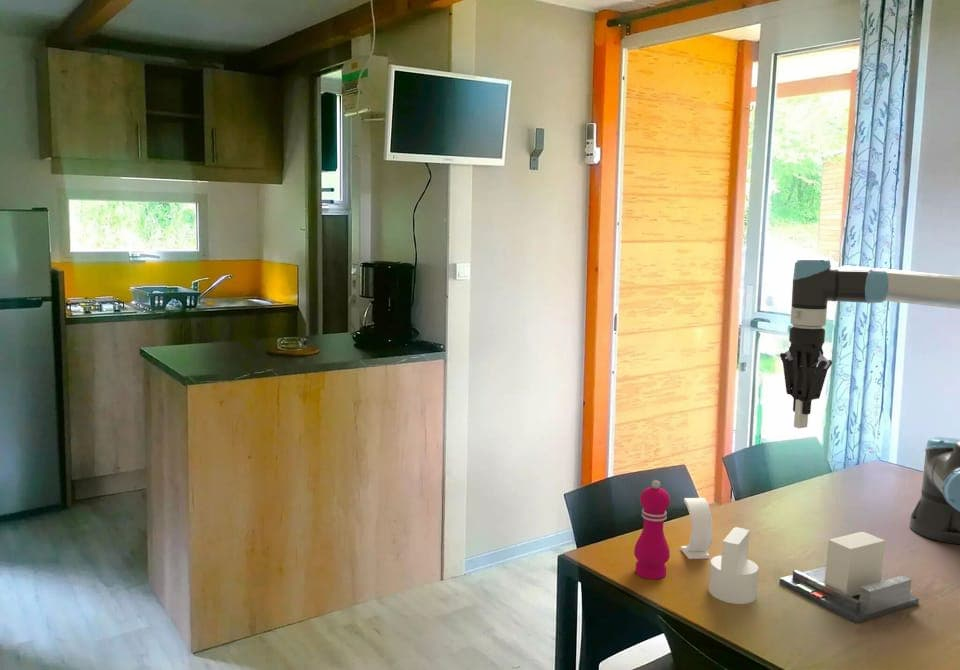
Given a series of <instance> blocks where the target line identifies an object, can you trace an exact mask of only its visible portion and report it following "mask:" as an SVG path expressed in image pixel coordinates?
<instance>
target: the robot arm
mask: <svg viewBox="0 0 960 670" xmlns="http://www.w3.org/2000/svg"><path fill="white" fill-rule="evenodd" d="M828 302H846V303H866V304H873V303H875V304H878V303H883V302H892V303H900V304H901V303H902V304H911V305H920V306H921V305H922V306H930V307H939V308H949V309H955V310H956V309H957V310H960V275H954V274H946V273H945V274H943V273H934V272H933V273H931V272H922V271H921V272H920V271H912V270H902V269H901V270H900V269H891V268H882V267H881V268H879V267H869V266H860V265H859V266H858V265H854V264H845V265H841V266H839V267H838V268H837V267H832V265H831V261H830V260H829V259H827V258H813V257H812V258H809V257H808V258H803V257H802V258H798V259H797V260H796V261H795V263H794V269H793V277H792V290H791V310H790V324H791V326H790V327H789V333H788V335H789V336H788V341H789V343H790V346H789V347H788V350H787V351H785V352H780V353H779V357H780V359H781V361H782V366H783V374H784V382H785V384H784V385H785V390H786V391H785V392H786V394H787V395H789V396H790V397H792V398H793V403H792V411H793V412H794V416H793V417H794V420H793V427H794V428H797V429H803V428H808V423H809V422H808V420H809V419H808V418H809V415H811V410H812V401H814V400H819V399H820V397H821V394H822V390H823V388H824V384H825V380H826V377H827V373H828V370H829V368H830V367H831V366H832V364H833V361H832V359H827V358H826V357H825V356H824V350H823V345H824V344H825V339H826V329H825V326H826V325H827V314H828V312H827V311H828ZM924 451H925V452H924V453H925V456H924V464H923V475H922V481H921V483H922V485H921V492H920V498H919V500H918V501H917V504H916V505H915V506H914V509H913V511H912V513H911V515H910V519H909V528H910V529H911V530H912V531H913V532H914V533H916V534H918V535H919V536H923V537H924V538H928V539H931V540H934V541H938V542H942V543H946V544H947V543H948V544H954V545H955V544H956V545H960V438H955V437H942V436H941V437H940V436H939V437H937V436H936V437H930V438H929V439H928V440H927V442H926V447H925V450H924Z"/></svg>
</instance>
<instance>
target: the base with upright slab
mask: <svg viewBox="0 0 960 670" xmlns="http://www.w3.org/2000/svg"><path fill="white" fill-rule="evenodd" d="M750 532H751V531H750V529H746V528H743V527H737V526H735V527H733V528H732V529H731V531H730V532H729V533H728V534H727V535H726V536H725V538H724V539H723V540H722V548H721V549H722V550H721V555H720V554H719V555H715V556H713V557H712V558H711V560H710V567H709V579H708V580H709V581H708V592H709V594H710V595H711V596H712V597H714V598H715V599H718V600H720V601H722V602H725V603H728V604H729V603H730V604H735V605H736V604H737V605H739V604H740V605H745V604H750V603H754V601H755V600H756V599H757V591H758V578H759V577H758V576H759V566H758V564H757V563H755V561H754V560H750V559H748V558H749V557H748V556H749V544H750Z"/></svg>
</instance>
